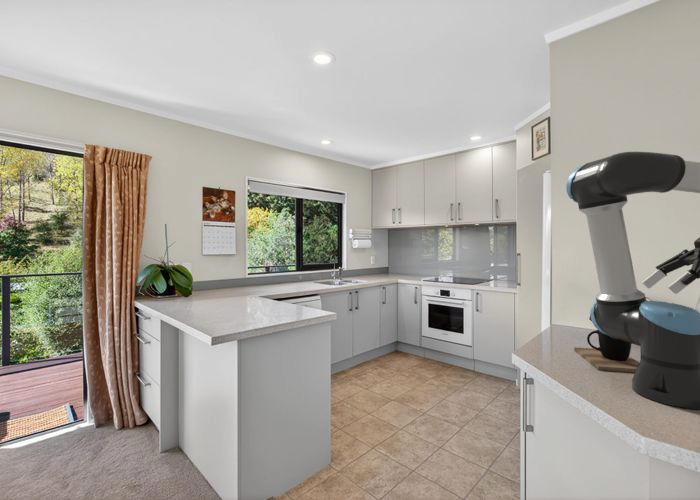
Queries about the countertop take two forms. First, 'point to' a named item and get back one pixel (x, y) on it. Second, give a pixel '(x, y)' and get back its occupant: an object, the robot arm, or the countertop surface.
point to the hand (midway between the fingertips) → (657, 288)
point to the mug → (611, 347)
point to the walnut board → (606, 361)
